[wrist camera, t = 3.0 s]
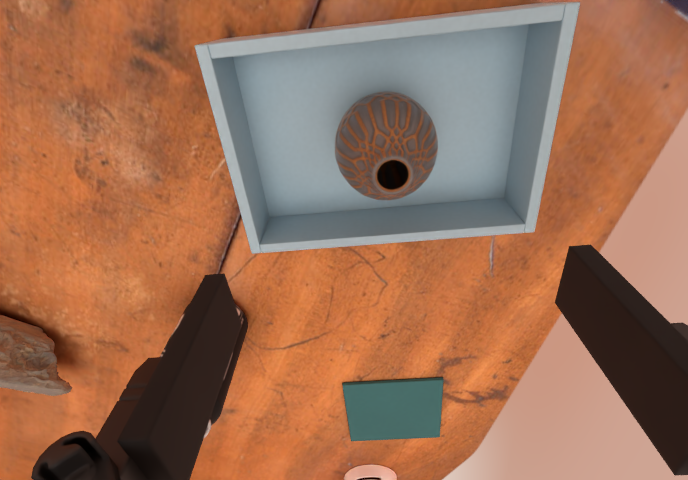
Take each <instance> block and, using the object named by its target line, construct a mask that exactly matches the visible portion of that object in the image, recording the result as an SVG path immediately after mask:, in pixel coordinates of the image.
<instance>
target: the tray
mask: <svg viewBox="0 0 688 480" xmlns="http://www.w3.org/2000/svg"><path fill="white" fill-rule="evenodd" d="M579 7H580V2H558V3H534V4H525V5H516V6H507V7H498V8H490V9H481V10H472V11H463V12H454V13H445V14H436V15H428V16H419V17H410V18H401V19H392V20H383V21H374V22H365V23H357V24H348V25H339V26H330V27H321V28H312V29H303V30H295V31H286V32H277V33H268V34H259V35H250V36H241V37H233V38H224V39H218V40H214V41H210V42H206V43H202V44H198V45H195V50H196V53H197V57H198V61H199V64H200V68H201V71H202V75H203V79H204V82H205V86H206V90H207V93H208V97H209V100H210V104H211V108H212V111H213V115H214V118H215V122H216V126H217V129H218V133H219V137H220V140H221V144H222V147H223V151H224V155H225V158H226V162H227V165H228V169H229V173H230V176H231V180H232V184H233V187H234V191H235V194H236V198H237V202H238V205H239V209H240V213H241V216H242V220H243V223H244V227H245V231H246V234H247V238H248V241H249V245H250V249H251V252H252V254H254V253H261V252H262V253H267V252H280V251H294V250H307V249H320V248H333V247H346V246H359V245H372V244H385V243H398V242H411V241H424V240H437V239H451V238H464V237H477V236H490V235H503V234H516V233H523V232H524V233H529V232H534V231H535V226H536V221H537V216H538V211H539V206H540V201H541V196H542V191H543V186H544V181H545V176H546V171H547V166H548V161H549V156H550V151H551V146H552V141H553V136H554V131H555V126H556V121H557V116H558V111H559V106H560V101H561V96H562V91H563V86H564V81H565V76H566V71H567V67H568V62H569V57H570V52H571V47H572V42H573V37H574V32H575V27H576V22H577V17H578V12H579ZM384 91H390V92H397V93H401V94H404V95H406V96H408V97H410V98H412V99H413V100H415V101H416V102H418V103H419V104H420V105H421V106H422V107H423V108H424V109H425V110H426V112H427V113H428V114H429V116H430V118H431V119H432V121H433V123H434V126H435V129H436V133H437V138H438V152H437V158H436V162H435V165H434V167H433V170H432V172H431V174H430V175H429V177H428V178H427V180H426V181H425V182H424V183H423V184H422V185H421V186H420V187H419V188H418V189H417V190H416V191H414V192H413V193H411V194H409V195H407V196H405V197H403V198H399V199H395V200H376V199H372V198H369V197H367V196H364V195H362V194H361V193H359V192H358V191H356V190H355V189H354V188H353V187H352V186H351V185H350V184H349V183H348V182H347V181H346V180H345V178H344V177H343V175H342V174H341V172H340V170H339V167H338V164H337V161H336V157H335V137H336V132H337V129H338V126H339V123H340V121H341V119H342V117H343V116H344V114H345V113H346V111H347V110H348V109H349V108H350V107H351V106H352V105H353V104H354V103H355V102H357V101H358V100H360V99H361V98H363V97H365V96H367V95H370V94H373V93H377V92H384Z"/></svg>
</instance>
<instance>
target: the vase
mask: <svg viewBox="0 0 688 480" xmlns="http://www.w3.org/2000/svg"><path fill="white" fill-rule="evenodd" d="M437 152H438V138H437V133H436V129H435V126H434V123H433V121H432V119H431V118H430V116H429V114H428V113H427V112H426V110H425V109H424V108H423V107H422V106H421V105H420V104H419V103H418V102H416V101H415V100H413V99H412V98H410V97H408V96H406V95H404V94H401V93H397V92H390V91H384V92H377V93H373V94H370V95H367V96H365V97H363V98H361V99H360V100H358V101H357V102H355V103H354V104H353V105H352V106H351V107H350V108H349V109H348V110H347V111H346V113H345V114H344V116H343V117H342V119H341V121H340V123H339V126H338V129H337V132H336V137H335V157H336V161H337V164H338V167H339V170H340V172H341V174H342V175H343V177H344V178H345V180H346V181H347V182H348V183H349V184H350V185H351V186H352V187H353V188H354V189H355V190H356V191H358V192H359V193H361V194H362V195H364V196H367V197H369V198H372V199H376V200H395V199H399V198H403V197H405V196H407V195H409V194H411V193H413V192H414V191H416V190H417V189H418V188H419V187H420V186H421V185H422V184H423V183H424V182H425V181H426V180H427V178H428V177H429V175H430V174H431V172H432V170H433V167H434V165H435V162H436V158H437Z"/></svg>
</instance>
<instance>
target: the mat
mask: <svg viewBox="0 0 688 480" xmlns="http://www.w3.org/2000/svg"><path fill="white" fill-rule="evenodd" d="M342 385H343V392H344V398H345V405H346V411H347V417H348V424H349V430H350V437H351V441H366V440H388V439H411V438H433V437H440V424H441V409H442V394H443V377H439V378H420V379H402V380H383V381H365V382H346V383H342Z"/></svg>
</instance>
